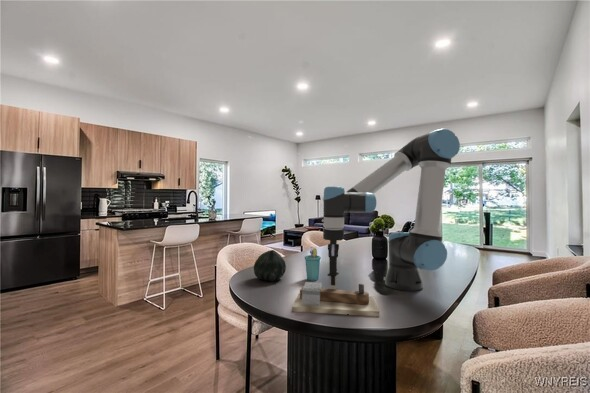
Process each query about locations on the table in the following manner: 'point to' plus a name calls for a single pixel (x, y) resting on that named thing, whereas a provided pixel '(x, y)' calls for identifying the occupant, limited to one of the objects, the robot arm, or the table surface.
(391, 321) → the table surface
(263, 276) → the squash
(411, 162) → the robot arm
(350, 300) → the wooden bar with peg
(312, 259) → the cup
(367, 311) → the pintle board
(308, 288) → the block
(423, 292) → the table surface
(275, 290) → the table surface
